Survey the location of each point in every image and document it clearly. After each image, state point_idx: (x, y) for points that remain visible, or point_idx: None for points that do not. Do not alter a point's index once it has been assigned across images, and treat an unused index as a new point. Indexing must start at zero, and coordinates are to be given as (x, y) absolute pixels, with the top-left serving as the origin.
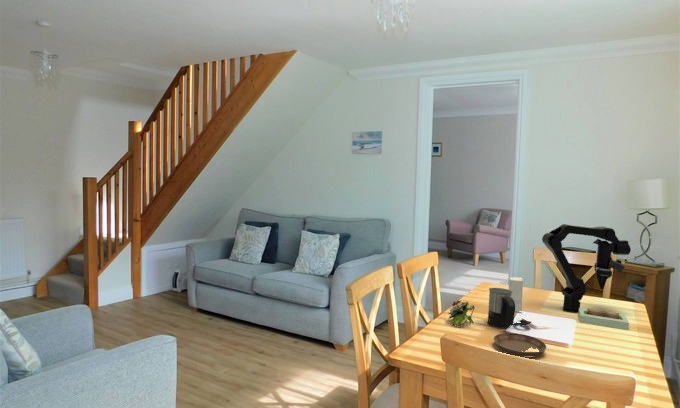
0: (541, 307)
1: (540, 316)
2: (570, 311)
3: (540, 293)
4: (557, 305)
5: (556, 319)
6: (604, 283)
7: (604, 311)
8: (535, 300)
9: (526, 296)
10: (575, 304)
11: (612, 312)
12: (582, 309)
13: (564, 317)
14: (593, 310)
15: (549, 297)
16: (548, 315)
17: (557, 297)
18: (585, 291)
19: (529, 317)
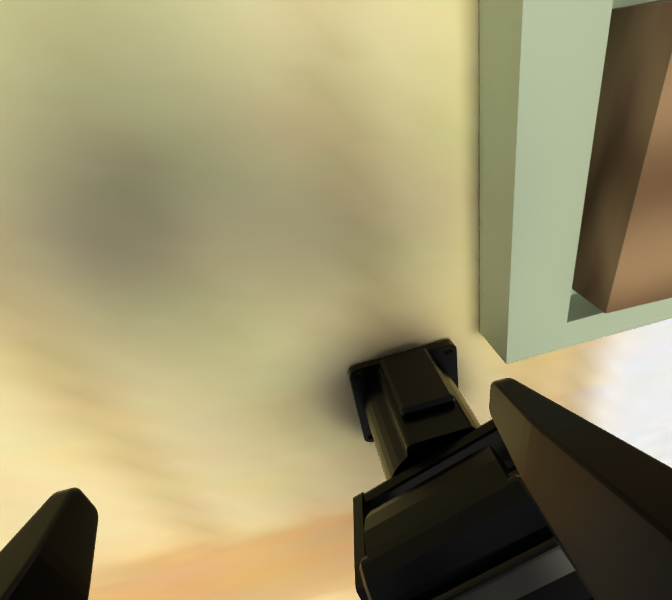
0: None
1: (630, 438)
2: (455, 381)
3: (112, 595)
4: (336, 465)
5: (655, 380)
6: (660, 475)
7: (657, 170)
8: (321, 548)
9: (272, 591)
10: (464, 404)
11: (669, 84)
12: (534, 336)
13: (596, 366)
14: (657, 261)
15: (163, 546)
16: (594, 424)
17: (103, 529)
18: (505, 475)
19: (666, 457)
